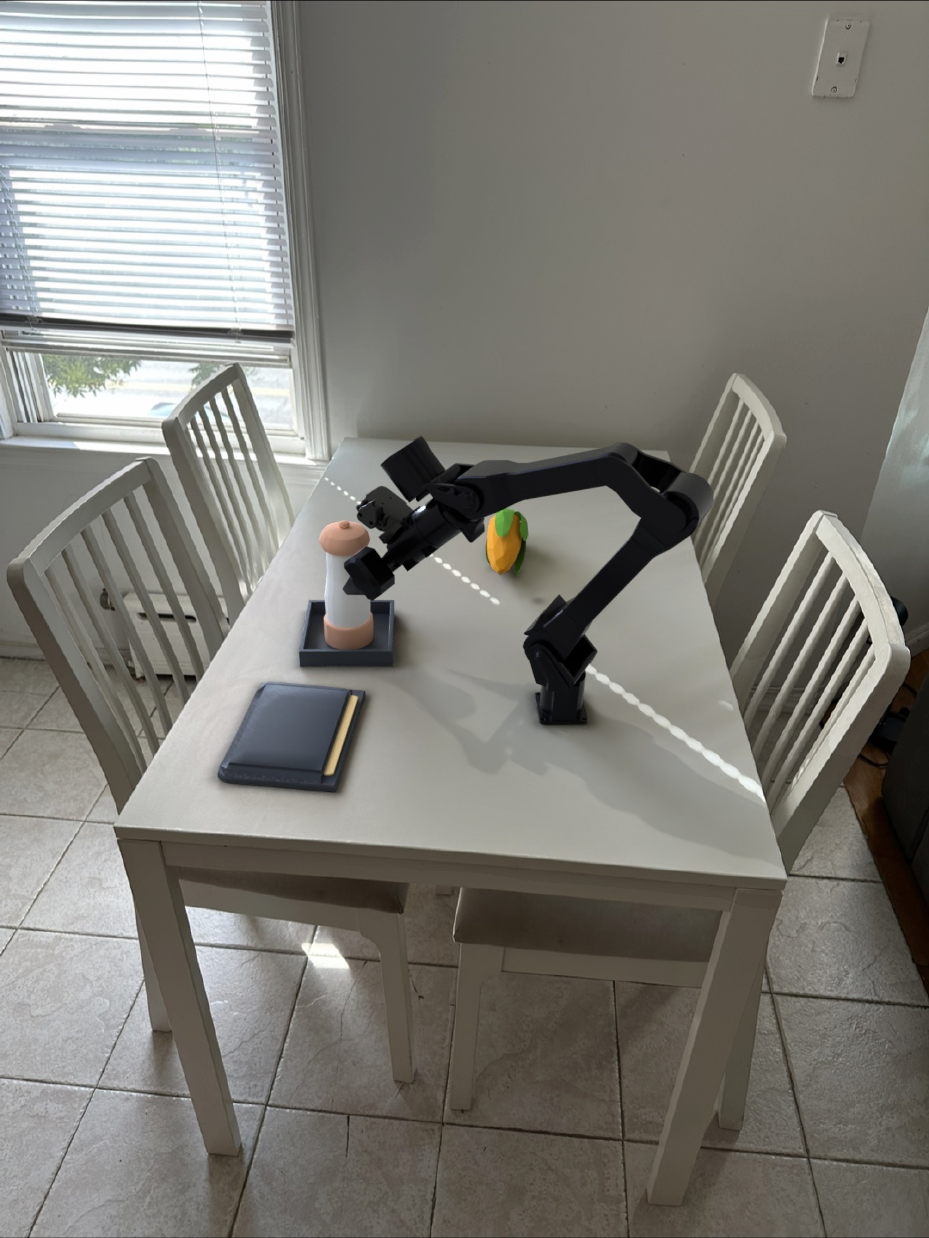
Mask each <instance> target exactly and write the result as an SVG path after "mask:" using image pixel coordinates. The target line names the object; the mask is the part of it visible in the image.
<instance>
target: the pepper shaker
mask: <svg viewBox="0 0 929 1238" xmlns="http://www.w3.org/2000/svg"><path fill="white" fill-rule="evenodd" d="M318 540H319V545H320V547H321V548H322V550H323V551H324V552H325V558H326V580H325V587H324V600H325V608H326V614H325V616H324V631H325V641H326V642H327V644H328V645H330V646H331V647H333V648H336V649H359V648H363V647H365V646H367V645H368V644H369V643H370V642H372V640H373V637H374V631H373V615H372V613H371V612H370V600H369V599H367V597H366V596H365V595H346V593H345V592H344V591H343V587H344V585H345V584H346V582H347V580H348V579H349V577H350V575H349V574H348V573H347V571H346V570H345V569H344V562H345V561H347V560H348V559H349V558H351V557H352V556H353V555H355V554H356V553H357V552H359V551H360V550H362V549H363V548H364V547H366V546H367V547H369V544H370V541H371V537H370V534H369V531H368V530H367V528H365V526H364V525H363V524H362V523H359V522H355V521H349V520H346V519H343V520H339V521H335V522H332V523H329V524H327V525H326V526H325V527H324V528H323V529H322V531H321V532H320V534H319V539H318Z"/></svg>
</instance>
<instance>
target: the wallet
mask: <svg viewBox="0 0 929 1238" xmlns="http://www.w3.org/2000/svg"><path fill="white" fill-rule="evenodd" d="M366 695H367V691H366V690H361V689H350V688H343V687H336V686H335V687H334V686H326V685H325V686H323V685H315V684H314V685H313V684H301V683H293V682H292V683H291V682H282V681H281V682H279V681H265V682H260V684H259V686H258V687H257V690H256V691H255V693H254V696H253V697H252V700H251V702H250V704H249V706H248V708H247V711H246V713H245V715H244V717H243V719H242V722H241V723H240V726H239V728H238V730H237V731H236V733H235V736H234V737H233V740H232V741H231V743H230V745H229V747H228V749H227V751H226V753H225V755H224V757H223V759H222V760H221V762H220V765H219V768H218V770H217V773H216V774H217V778H218V779H219V780H221V781H222V782H223V783H228V784H229V783H230V784H239V785H249V786H250V785H252V786H263V787H276V788H287V789H297V790H308V791H322V792H334V793H335V792H336V790H337V788H338V785H339V782H340V781H341V775H342V772H343V767H344V764H345V762H346V759H347V756H348V752H349V749H350V746H351V742H352V740H353V736H354V732H355V731H356V727H357V724H358V720H359V717H360V713H361V710H362V707H363V704H364V701H365V698H366Z"/></svg>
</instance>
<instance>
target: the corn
mask: <svg viewBox="0 0 929 1238" xmlns="http://www.w3.org/2000/svg"><path fill="white" fill-rule="evenodd" d="M528 525H529V524H528V520H527V518H526V517H525V516H524V515H523V514H522V512H520V511H518V510H517V511H515V509H512V508H508V507H507V508H505V509H503V510H501V511H499V512H497V513H495V515H493V516H492V517H490V520H489V522H488V527H487V533H486V534H487V535H486V536H487V537H486V543H485V557H486V561H487V563H488V564H489V565H490V567H491V569H492V570H493V571H494V572H496V573H497V574H499V576H501V575H503V574H505V573H506V572H508V571H509V570H510V569H511V568H512V566H514V572H513V573H514V576H518V575H519V573H520V570H521V568H522V566H523V563H524V562H525V558H526V551H527V540H528V538H529V526H528Z"/></svg>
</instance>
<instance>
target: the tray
mask: <svg viewBox="0 0 929 1238" xmlns="http://www.w3.org/2000/svg"><path fill="white" fill-rule="evenodd" d="M370 612H371V613H372V615H373V631H374V637H373V640H372V642H370V643H369V644H368V645H367V646H365V647H363V648H359V649H336V648H333V647H331V646H330V645H328V644H327V642H326V641H325V631H324V616H325V614H326V608H325V599H308V601H307V607H306V612H305V617H304V618H305V619H304V623H303V627H302V632H301V638H300V644H299V648H298V658H299V659H298V660H299V667H394V666H393V664H394V641H395V640H394V639H395V600H394V599H375V600H373V601H372V600H370Z"/></svg>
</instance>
